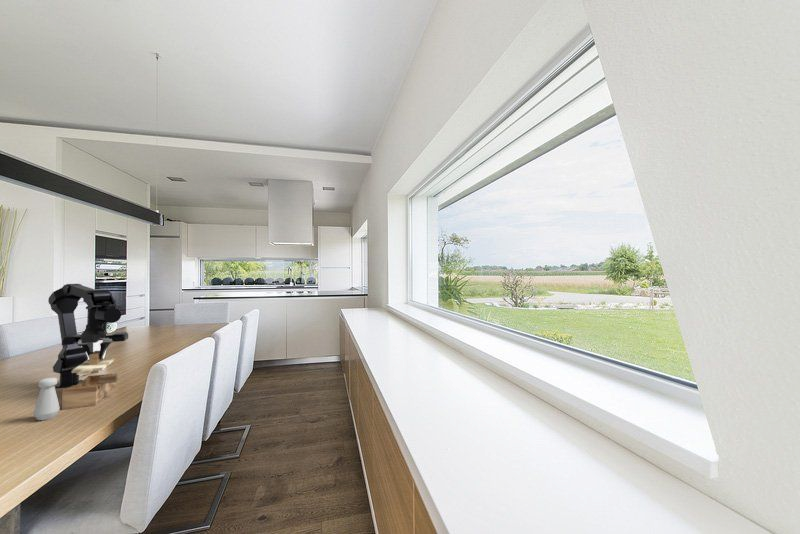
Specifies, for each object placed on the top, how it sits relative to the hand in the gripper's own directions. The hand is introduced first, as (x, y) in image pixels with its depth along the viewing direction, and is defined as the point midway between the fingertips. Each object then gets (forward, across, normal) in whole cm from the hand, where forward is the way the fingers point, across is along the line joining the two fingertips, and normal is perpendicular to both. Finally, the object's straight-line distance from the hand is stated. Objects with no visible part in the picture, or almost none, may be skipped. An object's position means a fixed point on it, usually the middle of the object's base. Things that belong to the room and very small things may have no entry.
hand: (95, 359), depth 128 cm
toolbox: (+13, +1, -5) cm, 14 cm away
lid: (+3, 0, -3) cm, 4 cm away
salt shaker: (+13, -6, -22) cm, 26 cm away
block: (+7, +7, -10) cm, 14 cm away
